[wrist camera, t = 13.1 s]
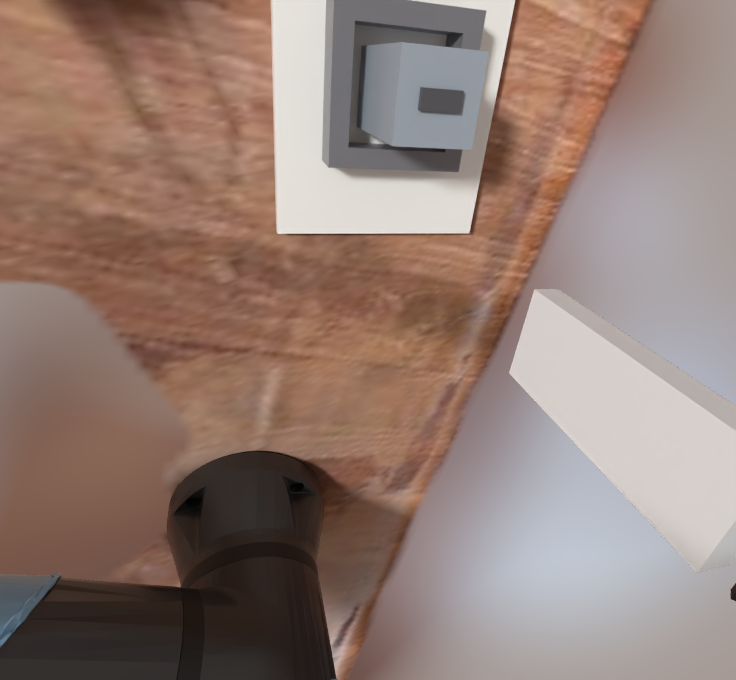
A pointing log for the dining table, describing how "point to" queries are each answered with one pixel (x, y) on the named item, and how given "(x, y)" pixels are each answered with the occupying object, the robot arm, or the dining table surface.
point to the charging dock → (340, 109)
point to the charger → (421, 94)
